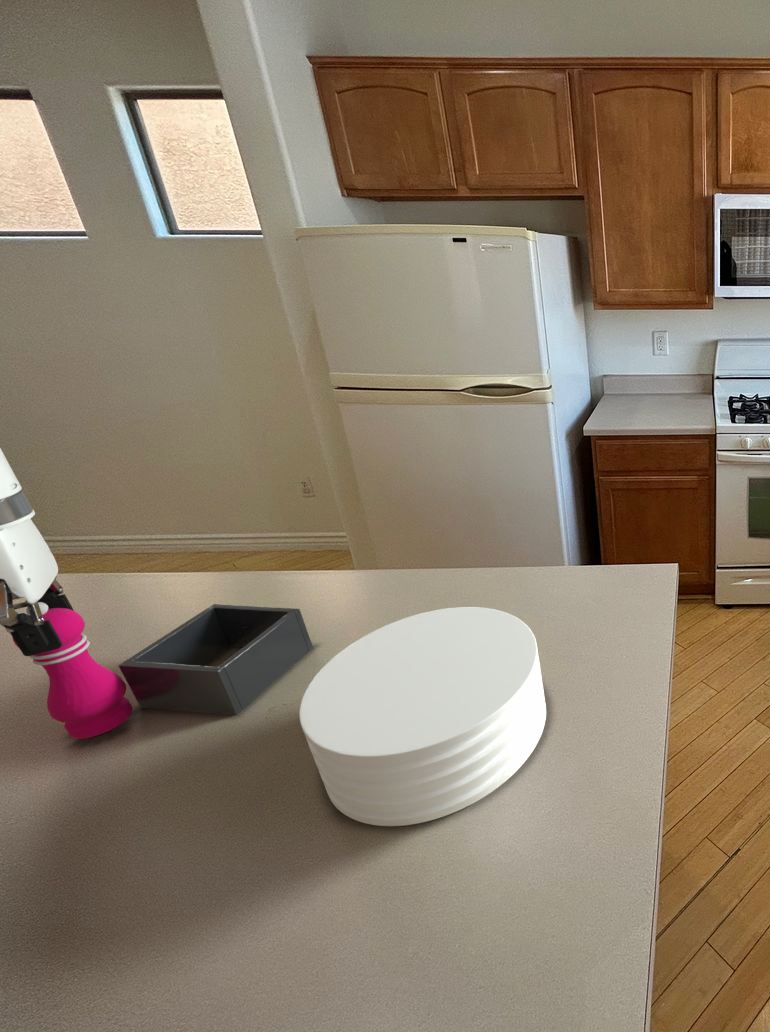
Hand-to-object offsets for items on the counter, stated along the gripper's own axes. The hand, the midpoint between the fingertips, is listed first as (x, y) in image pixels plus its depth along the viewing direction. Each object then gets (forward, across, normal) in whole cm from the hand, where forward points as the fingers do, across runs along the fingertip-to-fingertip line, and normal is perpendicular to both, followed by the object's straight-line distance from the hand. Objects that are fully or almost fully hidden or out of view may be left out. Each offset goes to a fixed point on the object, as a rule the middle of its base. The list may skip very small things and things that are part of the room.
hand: (52, 635), depth 72 cm
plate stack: (+16, +29, +39) cm, 51 cm away
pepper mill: (+15, 0, 0) cm, 15 cm away
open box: (+16, -3, +14) cm, 21 cm away
